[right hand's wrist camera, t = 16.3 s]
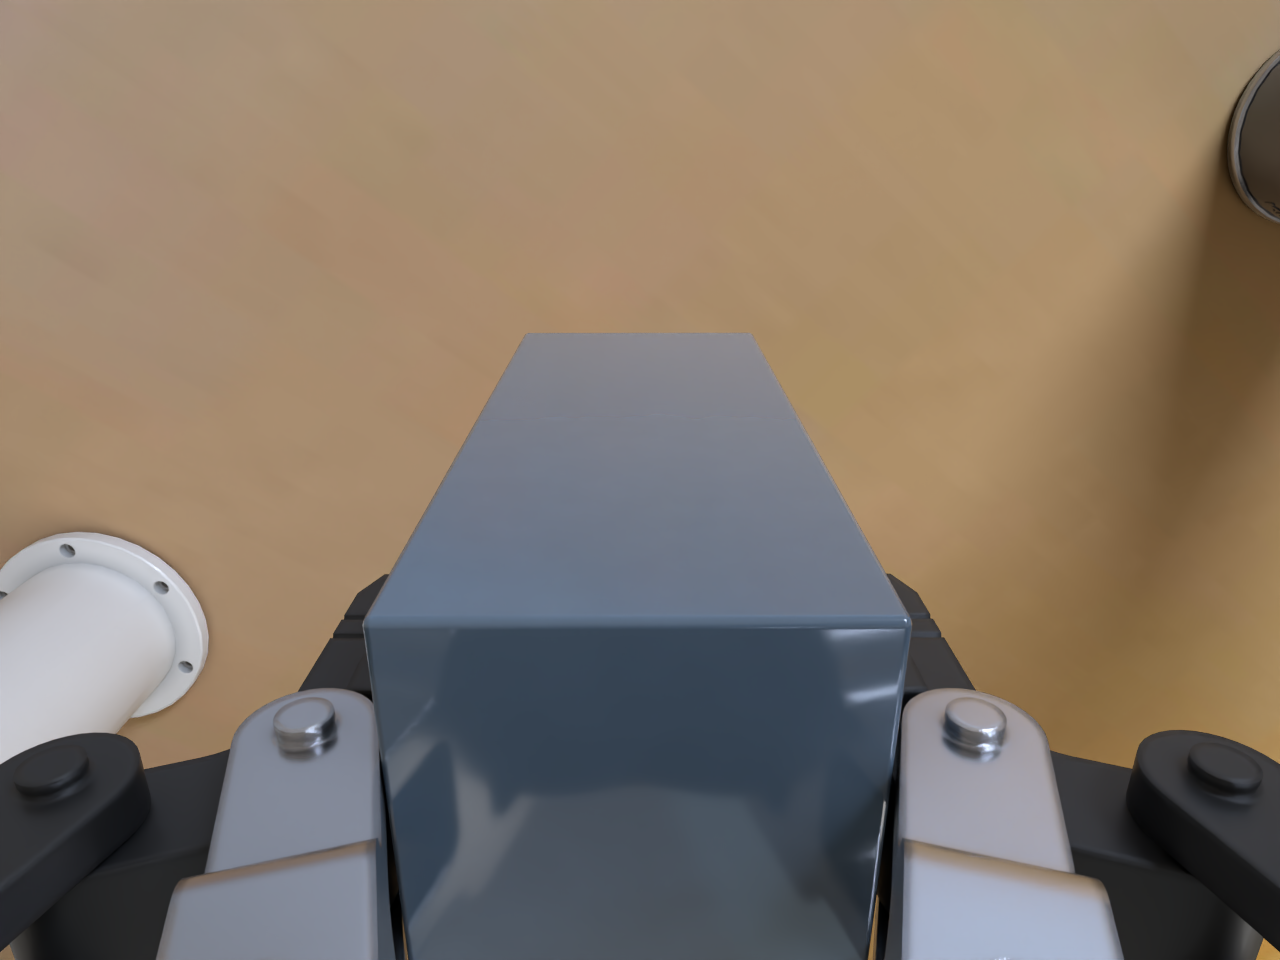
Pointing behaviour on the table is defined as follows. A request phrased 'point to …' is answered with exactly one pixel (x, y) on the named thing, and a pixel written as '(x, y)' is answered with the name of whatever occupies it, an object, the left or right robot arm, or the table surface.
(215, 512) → the table surface
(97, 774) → the right robot arm
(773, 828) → the block
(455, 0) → the table surface
